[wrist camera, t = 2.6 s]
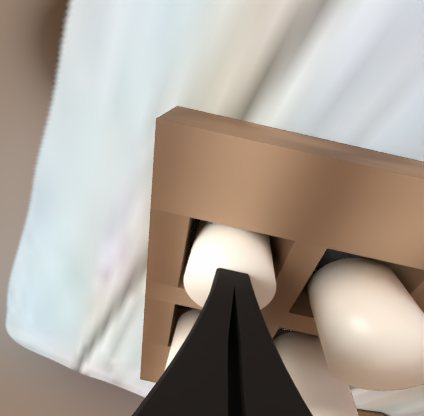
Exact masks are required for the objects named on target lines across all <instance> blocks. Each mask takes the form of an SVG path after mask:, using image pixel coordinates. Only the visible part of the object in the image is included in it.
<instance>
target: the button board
mask: <svg viewBox="0 0 424 416" xmlns="http://www.w3.org/2000/svg"><path fill="white" fill-rule="evenodd" d="M195 219H200V220H204V221H209V222H213V223H218V224H222V225H226V226H231V227H235V228H240V229H244V230H249V231H253V232H257V233H262V234H266V235H271V236H272V237H271V239H270V247H271V253H272V260H273V266H274V273H275V280H276V292H275V295H274V297H273V299H272V300H271V302H270V303H269V304H268V305H267V306H265V307H264V308H262V309H261V313H262V315H263V318H264V320H265V323H266V325H267V328H268V330H269V332H270V335H271V337H272V339H273V340H274V339H275V338H276V337H278V336H280V335H282V334H285V333H289V332H287V331H283V330H279V327H280V328H284V329H289V330H293V331H298V332H302V333H307V334H311V335H316V336H319V334H318V330H317V327H316V323H315V320H314V316H313V313H312V309H311V305H310V302H309V298H308V295H307V284H308V281H309V279H310V278H311V277H310V276H311V274H312V273H313V271H314V269H315V268H316V266H317V264H318V263H319V261H320V260H321V258H322V256H323V255H324V253H325V251H326V250H327V248H328V249H333V250H337V251H342V252H346V253H351V254H355V255H360V256H364V257H368V258H372V259H375V260H378V261H380V262H383V263H384V264H386V265H387V266H389V267H390V268H391V269H392V271H393V272H394V273H395V275H396V276H397V277H398V279H399V280H400V282H401V283H402V284H403V286H404V287H405V288H406V290H407V291H408V293H409V294H410V295H411V297H412V298H413V299H414V301H415V302H416V303H417V305H418V306H419V308H420V309H421V310H422V312H423V313H424V162H422V161H417V160H413V159H409V158H404V157H400V156H395V155H391V154H387V153H382V152H378V151H373V150H369V149H364V148H360V147H356V146H351V145H347V144H342V143H338V142H334V141H329V140H325V139H320V138H316V137H312V136H307V135H303V134H298V133H294V132H289V131H285V130H281V129H276V128H272V127H267V126H263V125H259V124H254V123H250V122H245V121H241V120H237V119H232V118H228V117H223V116H219V115H214V114H210V113H206V112H201V111H197V110H192V109H188V108H184V107H179V106H177V107H175V108H173V109H172V110H170V111H168V112H166V113H165V114H163V115H161V116H160V117H158V118H156V130H155V146H154V162H153V179H152V195H151V211H150V228H149V244H148V260H147V277H146V293H145V309H144V326H143V342H142V358H141V375H140V379H142V380H146V381H151V382H155V383H157V381H158V380H159V379H160V377H161V376H162V374H163V373H164V371H165V368H166V364H167V360H168V356H169V352H170V348H171V344H172V341H173V337H174V333H175V329H176V325H177V321H178V319H179V317H180V316H181V315H182V314H183V313H185V312H187V311H190V310H189V309H185V308H181V307H178V306H179V305H182V306H186V307H191V308H195V309H200V310H202V307H201V306H199V305H198V304H196V303H195V302H194V301H193V300H192V299H191V298H190V297H189V295H188V294H187V292H186V290H185V287H184V281H183V280H184V274H185V271H186V267H187V264H188V260H189V257H190V253H191V250H189V247H190V241H191V236H192V230H193V225H194V220H195Z"/></svg>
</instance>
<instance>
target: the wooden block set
mask: <svg viewBox="0 0 424 416" xmlns="http://www.w3.org/2000/svg"><path fill="white" fill-rule="evenodd" d="M357 412H358V415H359V416H385V415H384V414H382V413H379V412H372V411H366V410H359V409H357Z"/></svg>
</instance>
